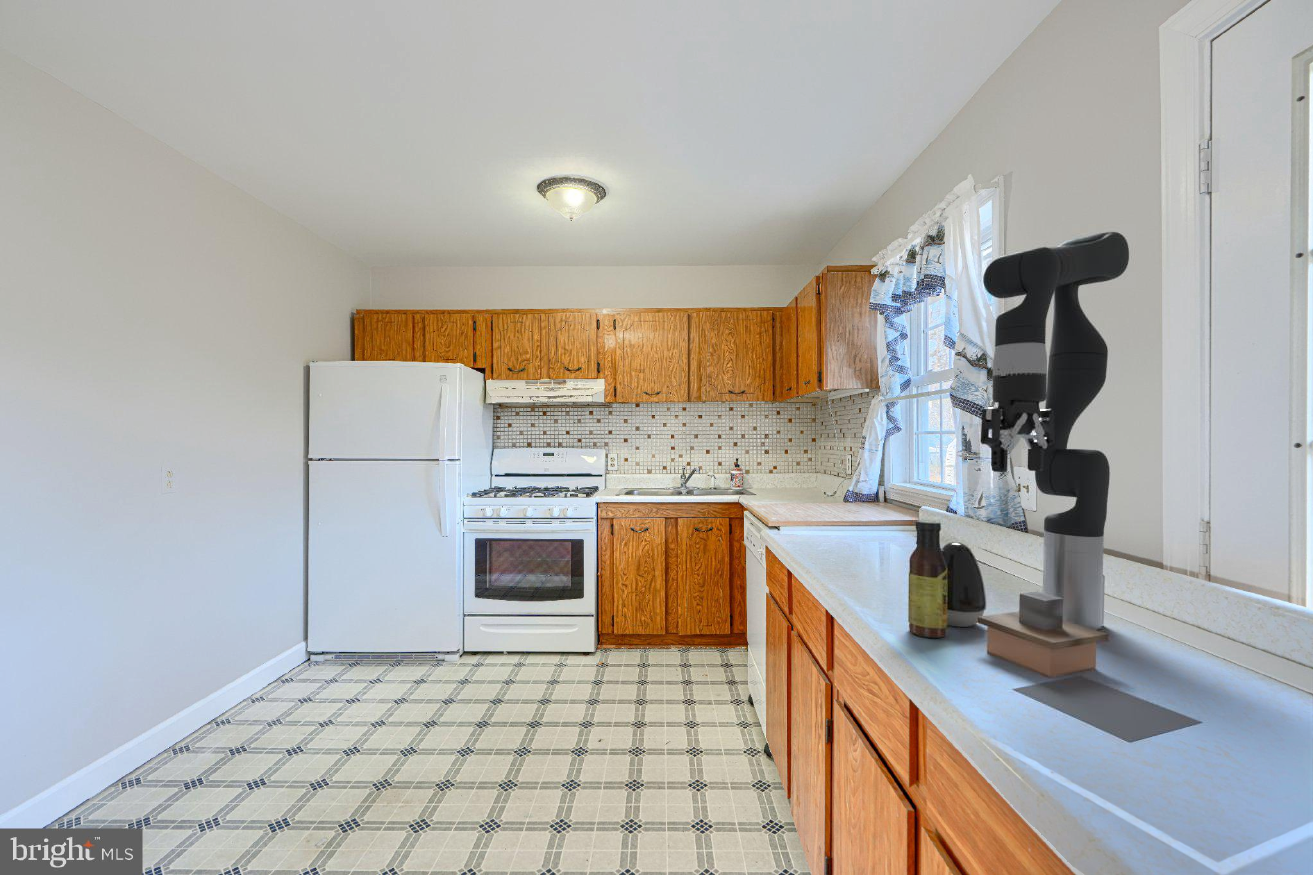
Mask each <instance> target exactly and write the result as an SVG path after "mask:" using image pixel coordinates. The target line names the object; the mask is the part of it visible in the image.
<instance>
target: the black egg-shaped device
mask: <svg viewBox="0 0 1313 875" xmlns="http://www.w3.org/2000/svg"><path fill="white" fill-rule="evenodd" d="M941 550H942V553H943V556H944V559H945V562H946V565H947V626H951V627H956V626H957V628H966V627H967V628H968V627H971V626H974V625H976V624H978V617H979V616H984V613H985V610H987V593H986V588H985V586H986V585H985V581H984V578H983V574H982V571H981V568H980V565H979V563H978V560H977V559H976V557H975V555H974V553H973V551H972V550H971V548H970V547H969V546H968V545H965V544H964V543H962V542H959V541H958V542H957V541H951V542H949V543H946V544H945V545H944V546H943V547H942V548H941Z"/></svg>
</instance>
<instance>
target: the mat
mask: <svg viewBox="0 0 1313 875" xmlns="http://www.w3.org/2000/svg"><path fill="white" fill-rule="evenodd" d="M1012 691H1015V692H1018V693H1019V694H1021V695H1024V696H1025V697H1028V698H1030V699H1033V700H1035V701H1036V702H1039V703H1041V704H1043V705H1046V706H1048V707H1051V708H1052V709H1055V710H1057V711H1060V712H1062V713H1064V714H1066V715H1068V716H1070V717H1073V718H1075V719H1077V720H1079V721H1081V722H1083V723H1086V724H1088V725H1091V726H1092V727H1094V728H1097V729H1099V730H1101V731H1103V732H1106V733H1107V734H1110V735H1113V736H1114V737H1117V738H1119V739H1121V740H1124V741H1125V742H1128V743H1133V742H1137V741H1140V740H1145V739H1147V738H1151V737H1155V736H1158V735H1162V734H1165V733H1168V732H1173V731H1177V730H1181V729H1183V728H1188V727H1191V726H1195V725H1198V724H1203V722H1202V721H1200V720H1198V719H1195V718H1192V717H1190V716H1187V715H1185V714H1182V713H1180V712H1177V711H1174V710H1171V709H1169V708H1166V707H1164V706H1162V705H1161V706H1160V705H1158V704H1156V703H1153V702H1151V701H1148V700H1145V699H1143V698H1140V697H1137V696H1136V695H1133V694H1129V693H1127V692H1124V691H1122V690H1119V689H1117V688H1114V687H1111V686H1109V685H1106V684H1104V683H1101V682H1097V680H1096V681H1095V680H1093V679H1091V678H1088V677H1085V676H1083V675H1076V676H1072V677H1066V678H1061V679H1057V680H1052V681H1051V680H1050V681H1047V682H1041V683H1036V684H1035V683H1034V684H1032V685H1026V686H1022V687H1015V688H1012Z"/></svg>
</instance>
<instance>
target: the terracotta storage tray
mask: <svg viewBox="0 0 1313 875" xmlns="http://www.w3.org/2000/svg"><path fill="white" fill-rule="evenodd" d="M986 627H987V632H986V634H987V636H986V652H987V653H988V654H991V655H992V656H996V657H998V658H1000V659H1003V660H1005V661H1007V662H1009V663H1012V664H1016V665H1018V666H1021V667H1022V668H1025V669H1027V670H1030V671H1033V672H1035V673H1038V674H1040V675H1042V676H1045V677H1048V678H1050V679H1051V678H1055V677H1060V676H1065V675H1066V676H1067V675H1071V674H1076V673H1082V672H1086V671H1091V670H1095V669H1097V668H1096V666H1097V643H1091V644H1085V645H1079V646H1073V647H1067V648H1062V649H1056V650H1052V649H1049V648H1046V647H1044V646H1041V645H1038V644H1035V643H1032V642H1030V641H1027V640H1024V639H1021V638H1018V637H1016V636H1013V635H1010V634H1007V633H1004V632H1002V631H999V630H996V629H993V628H990V627H988V626H986Z"/></svg>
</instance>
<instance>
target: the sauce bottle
mask: <svg viewBox="0 0 1313 875" xmlns="http://www.w3.org/2000/svg"><path fill="white" fill-rule="evenodd" d="M941 524H942V523H941V522H940V521H936V520H927V519H926V520H923V519H922V520H916V521H915V530H916V541H915V544H916V547H915V549H914V550H913V551H912V553H911V555H910V557H909V561H908V562H909V563H908V564H909V566H908V568H909V569H908V570H909V571H908V606H907V607H908V610H907V611H908V613H907V614H908V615H907V616H908V618H907V619H908V623H909V625H908V629H909V631H910V632H911V633H912V634H914V635H916V636H918V637H924V638H932V639H939V638H943V637H945V636H946V634H947V630H946V629H947V626H948V625H947V565H946V562H945V559H944V556H943V553H942V550H941V549H942V548H941V543H940V540H941V538H940V536H941V534H940V532H941V530H942V526H941Z"/></svg>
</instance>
